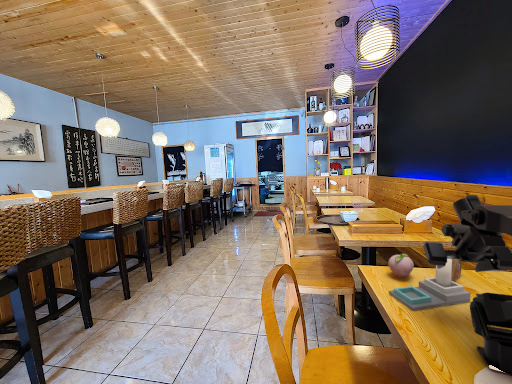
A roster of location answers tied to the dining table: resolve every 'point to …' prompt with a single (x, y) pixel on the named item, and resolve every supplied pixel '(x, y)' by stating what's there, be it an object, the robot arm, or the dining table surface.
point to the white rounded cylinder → (444, 274)
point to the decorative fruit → (401, 265)
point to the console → (430, 295)
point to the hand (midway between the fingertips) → (456, 268)
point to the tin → (456, 270)
